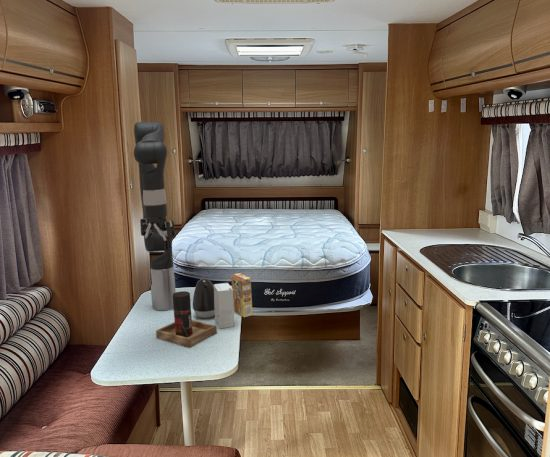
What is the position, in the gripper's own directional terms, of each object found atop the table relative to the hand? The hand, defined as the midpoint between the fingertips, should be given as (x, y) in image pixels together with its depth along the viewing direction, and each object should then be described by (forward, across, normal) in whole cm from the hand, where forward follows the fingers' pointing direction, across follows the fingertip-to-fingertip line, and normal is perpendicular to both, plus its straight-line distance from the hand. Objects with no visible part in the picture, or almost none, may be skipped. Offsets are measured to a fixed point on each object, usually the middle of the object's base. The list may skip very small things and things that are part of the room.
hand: (159, 249), depth 174 cm
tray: (+32, -5, -5) cm, 33 cm away
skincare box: (+32, -10, -20) cm, 39 cm away
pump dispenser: (+32, +2, -23) cm, 40 cm away
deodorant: (+32, -5, -4) cm, 32 cm away
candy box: (+32, -9, -32) cm, 46 cm away
